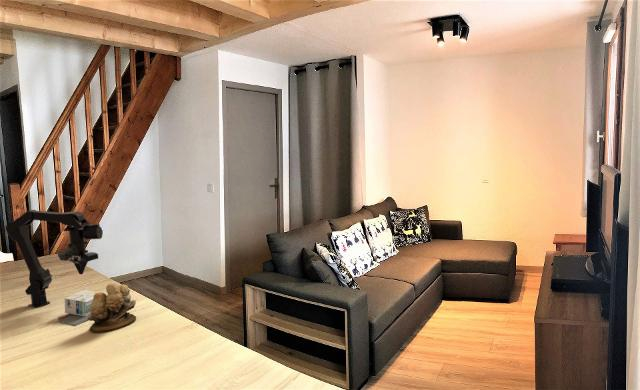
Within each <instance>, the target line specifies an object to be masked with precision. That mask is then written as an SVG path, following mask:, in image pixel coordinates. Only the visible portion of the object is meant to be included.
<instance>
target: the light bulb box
mask: <svg viewBox="0 0 640 390" xmlns="http://www.w3.org/2000/svg"><path fill="white" fill-rule="evenodd" d="M98 292H99V291H98ZM98 292H97V291H92V290H87V289H86V290H85V289H83V290H81V291H78V292H75V293H73V294H70V295H69V296H67V297H64V313H65V314H74V315H80V316H85V317H86V316H88V315H90V314H91V313H90V311H91V310H90V308H91V302H92V301H93V297H94V295H95V294H96V293H98Z"/></svg>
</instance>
